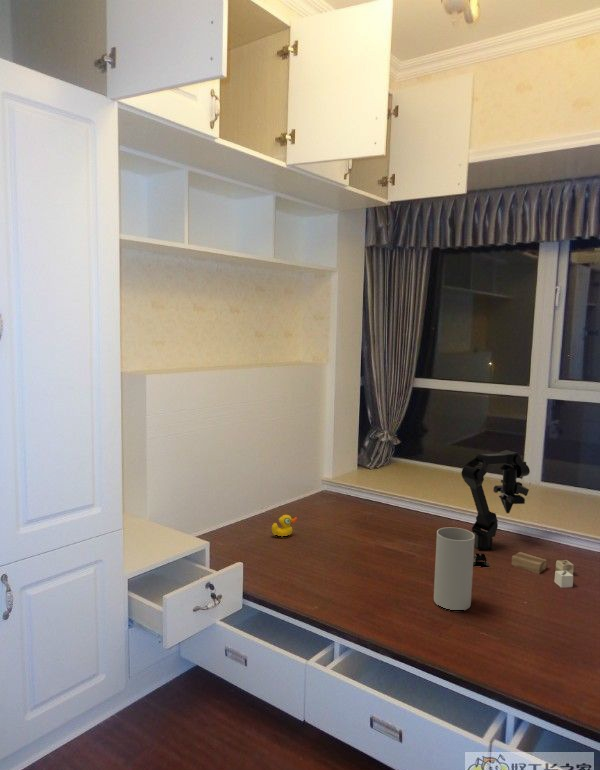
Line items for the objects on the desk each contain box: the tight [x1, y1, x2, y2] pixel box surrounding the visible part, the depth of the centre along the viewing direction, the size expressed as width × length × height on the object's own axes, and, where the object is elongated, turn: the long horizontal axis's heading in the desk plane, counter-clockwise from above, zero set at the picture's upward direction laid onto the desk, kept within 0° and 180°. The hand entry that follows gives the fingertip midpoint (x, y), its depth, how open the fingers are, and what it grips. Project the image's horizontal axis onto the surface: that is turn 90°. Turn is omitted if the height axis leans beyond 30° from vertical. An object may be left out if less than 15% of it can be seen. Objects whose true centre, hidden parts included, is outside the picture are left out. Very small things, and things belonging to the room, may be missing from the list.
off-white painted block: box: [554, 570, 574, 589], centre depth 215 cm, size 4×4×5 cm
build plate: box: [473, 552, 490, 568], centre depth 231 cm, size 12×7×5 cm, turn 83°
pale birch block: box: [555, 559, 575, 576], centre depth 224 cm, size 4×4×5 cm
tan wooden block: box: [511, 551, 547, 575], centre depth 230 cm, size 7×11×4 cm, turn 45°
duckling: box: [271, 514, 298, 536], centre depth 256 cm, size 11×5×10 cm, turn 103°
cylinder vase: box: [433, 526, 475, 611], centre depth 197 cm, size 12×12×25 cm
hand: (507, 513), depth 255 cm, fingers closed
